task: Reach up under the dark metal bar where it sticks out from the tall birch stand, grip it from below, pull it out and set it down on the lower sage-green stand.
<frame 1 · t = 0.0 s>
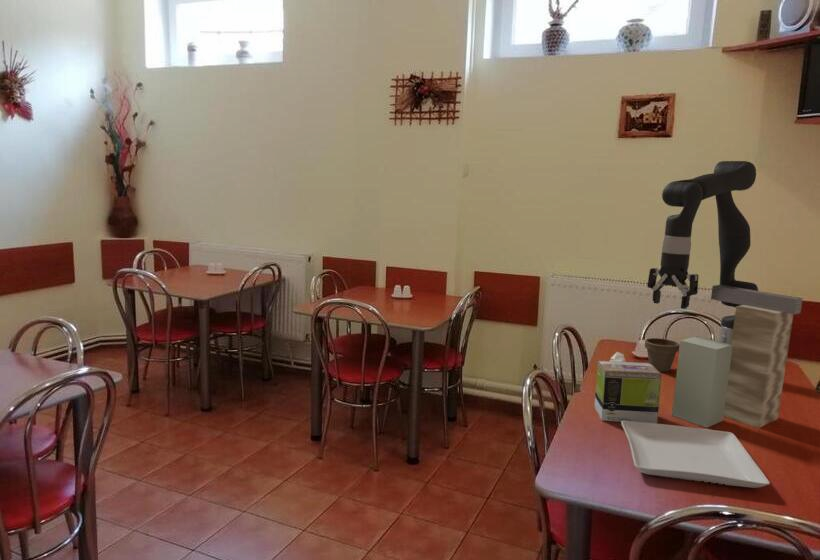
hand: (669, 305, 174), 29 cm above the table, tool pointing down, fingers open, 8 cm apart
square plate: (685, 462, 140), on the table
flower pot: (659, 369, 210), on the table
tea box: (624, 417, 165), on the table
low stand: (697, 418, 166), on the table
white angular piece: (618, 395, 182), on the table
metal bar: (753, 305, 165), point 32 cm above the table, touching tall stand
tall stand: (749, 417, 168), on the table
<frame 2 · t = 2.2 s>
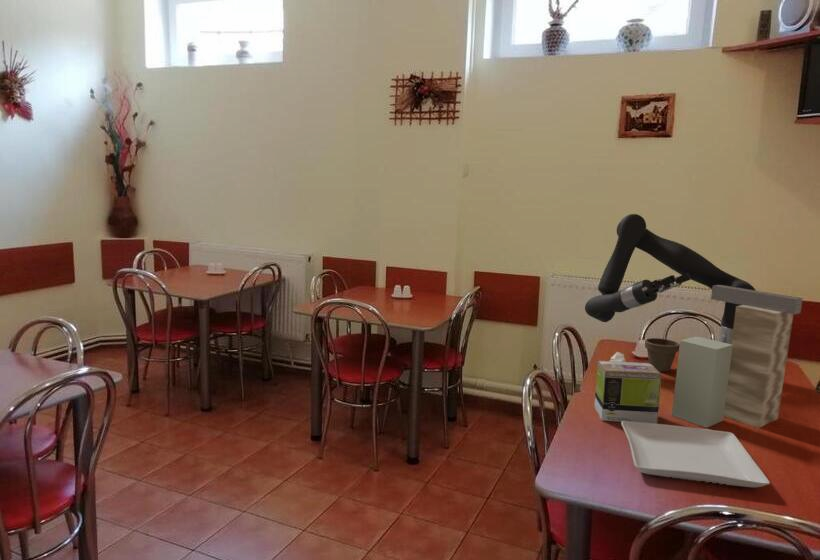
hand: (681, 277, 184), 36 cm above the table, tool pointing upward, fingers open, 8 cm apart
nothing on the table moved.
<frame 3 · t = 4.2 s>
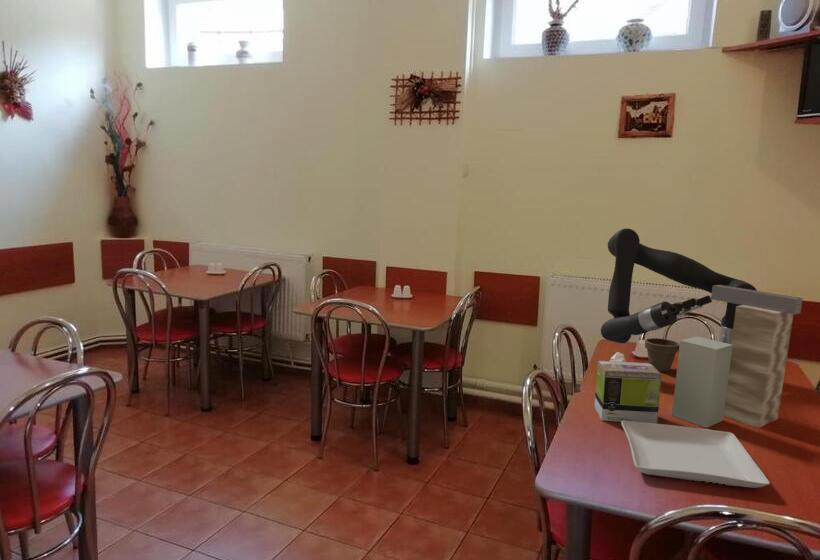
hand: (703, 299, 176), 31 cm above the table, tool pointing upward, fingers open, 8 cm apart
nothing on the table moved.
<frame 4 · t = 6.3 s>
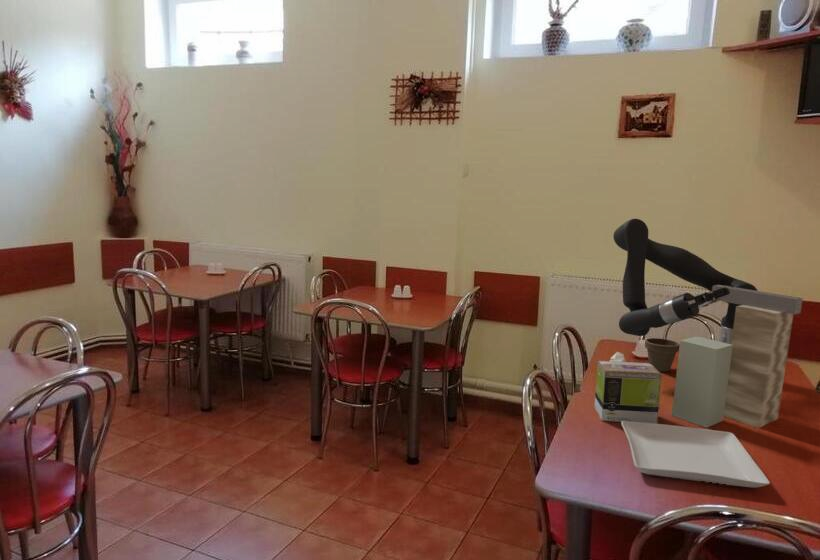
hand: (731, 289, 169), 35 cm above the table, tool pointing upward, fingers closed on metal bar, 4 cm apart
metal bar: (753, 305, 165), point 32 cm above the table, touching gripper, tall stand
everything else where it was.
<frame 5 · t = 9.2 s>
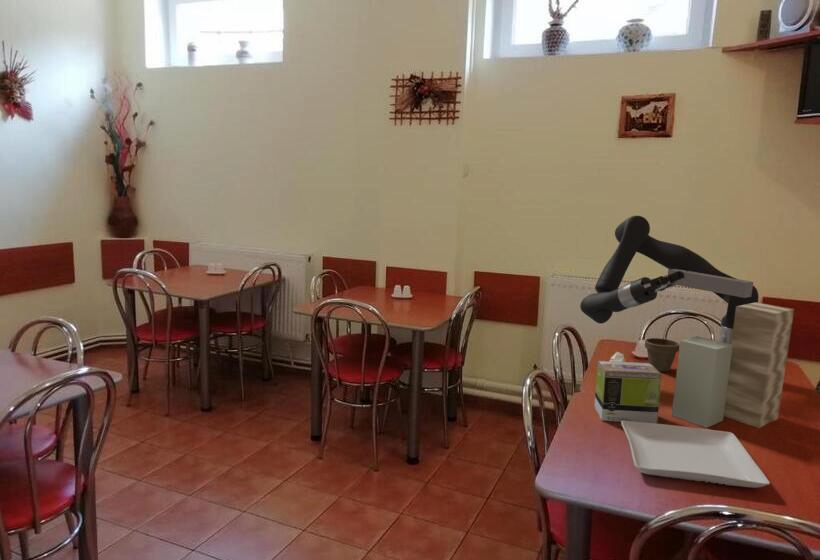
hand: (686, 273, 170), 39 cm above the table, tool pointing upward, fingers closed on metal bar, 4 cm apart
metal bar: (706, 289, 165), point 36 cm above the table, touching gripper
everything else where it was.
when the fingers open (27 cm above the table, at t = 12.2 s): metal bar drops 2 cm, resting on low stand.
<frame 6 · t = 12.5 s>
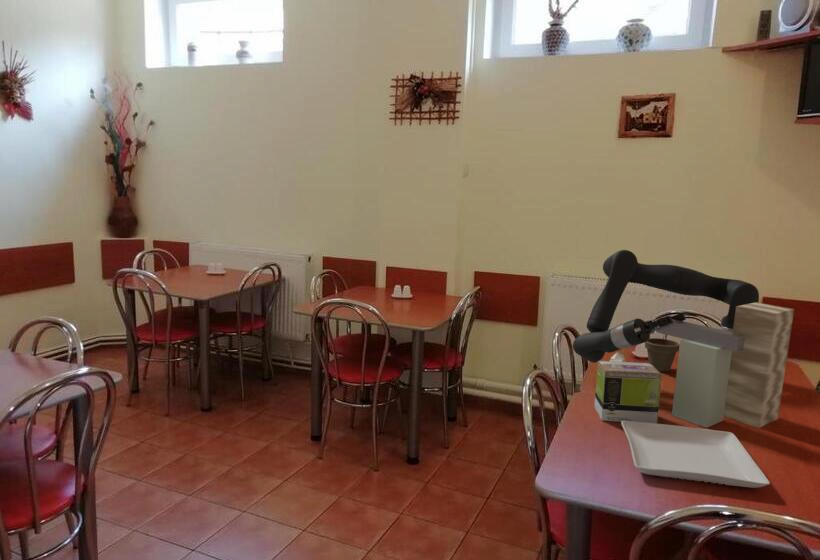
hand: (677, 317, 168), 27 cm above the table, tool pointing upward, fingers open, 6 cm apart
metal bar: (698, 340, 164), point 22 cm above the table, touching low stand
everything else where it was.
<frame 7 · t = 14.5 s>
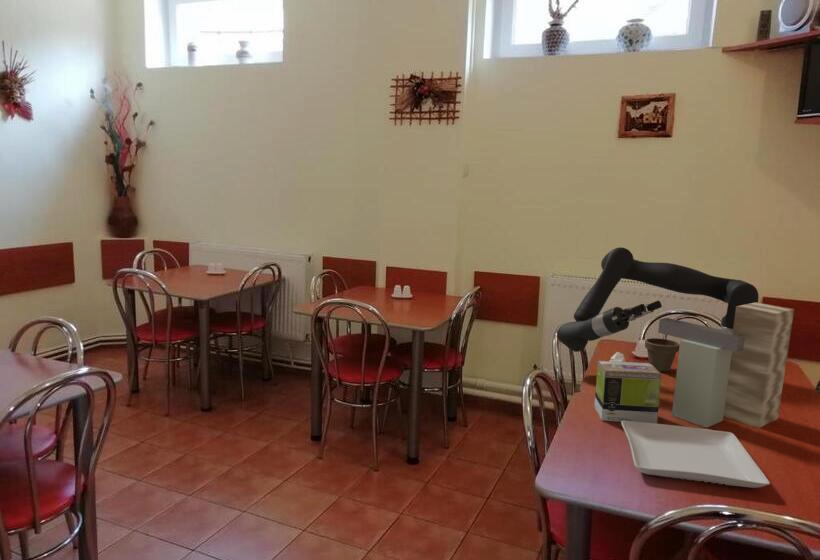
hand: (652, 305, 176), 29 cm above the table, tool pointing upward, fingers open, 8 cm apart
nothing on the table moved.
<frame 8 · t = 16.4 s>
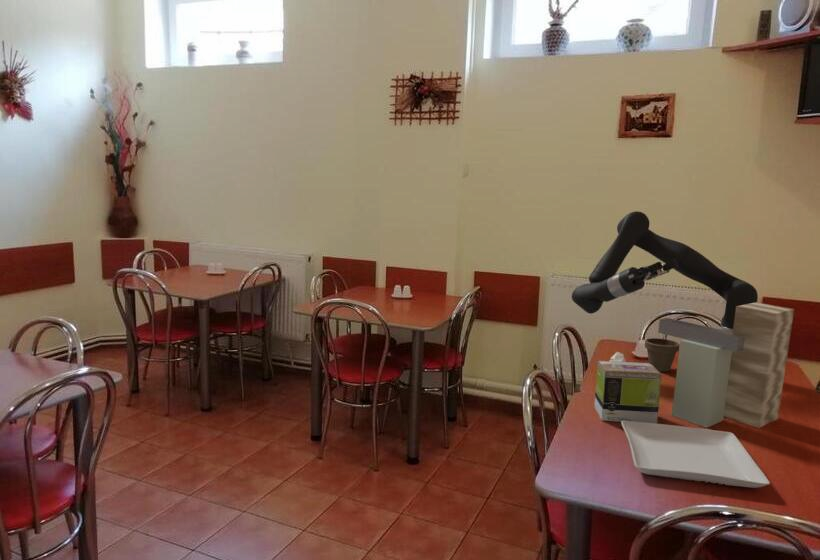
hand: (669, 263, 179), 41 cm above the table, tool pointing upward, fingers open, 8 cm apart
nothing on the table moved.
at the end: metal bar inside the target area (2.7 cm from its centre), point 22.0 cm above the table; metal bar touching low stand; the gripper is holding nothing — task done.
